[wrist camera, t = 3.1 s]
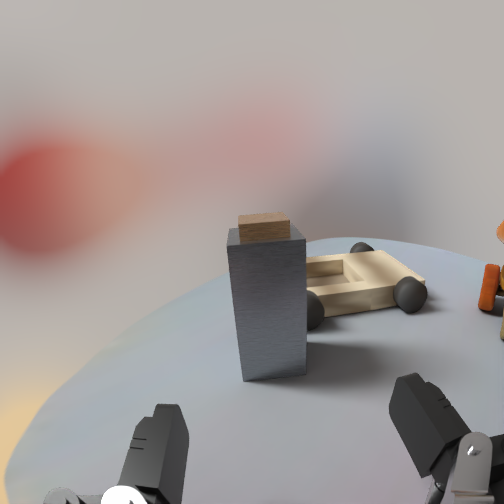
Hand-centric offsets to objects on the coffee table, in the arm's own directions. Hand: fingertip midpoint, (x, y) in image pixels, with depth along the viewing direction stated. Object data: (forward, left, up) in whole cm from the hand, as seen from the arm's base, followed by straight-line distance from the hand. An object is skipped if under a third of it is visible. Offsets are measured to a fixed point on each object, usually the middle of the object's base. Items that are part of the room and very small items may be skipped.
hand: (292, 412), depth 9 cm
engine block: (0, -11, -6) cm, 13 cm away
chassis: (-9, -22, -6) cm, 25 cm away
